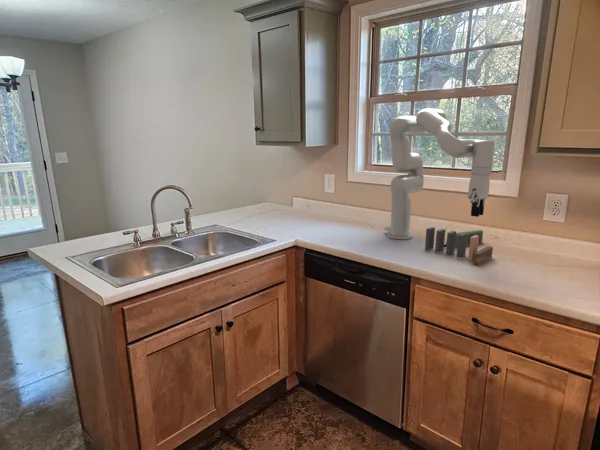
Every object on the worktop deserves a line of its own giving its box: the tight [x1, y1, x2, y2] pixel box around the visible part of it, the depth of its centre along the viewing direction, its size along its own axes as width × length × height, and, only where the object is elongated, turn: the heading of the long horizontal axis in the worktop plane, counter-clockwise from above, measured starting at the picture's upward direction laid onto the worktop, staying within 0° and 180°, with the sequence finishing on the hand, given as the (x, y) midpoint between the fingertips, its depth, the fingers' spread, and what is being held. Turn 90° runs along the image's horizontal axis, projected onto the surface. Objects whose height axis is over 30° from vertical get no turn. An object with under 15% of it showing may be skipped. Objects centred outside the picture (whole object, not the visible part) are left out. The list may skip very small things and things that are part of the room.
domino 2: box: [434, 228, 446, 254], centre depth 177 cm, size 2×5×10 cm, turn 134°
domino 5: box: [467, 235, 479, 262], centre depth 166 cm, size 2×5×10 cm, turn 134°
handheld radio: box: [444, 229, 484, 248], centre depth 186 cm, size 7×3×25 cm
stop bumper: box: [472, 245, 494, 267], centre depth 164 cm, size 2×14×5 cm, turn 134°
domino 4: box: [456, 233, 467, 259], centre depth 170 cm, size 2×5×10 cm, turn 134°
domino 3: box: [445, 230, 457, 256], centre depth 173 cm, size 2×5×10 cm, turn 134°
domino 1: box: [424, 226, 436, 251], centre depth 180 cm, size 2×5×10 cm, turn 134°
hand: (476, 215), depth 163 cm, fingers open, 3 cm apart
